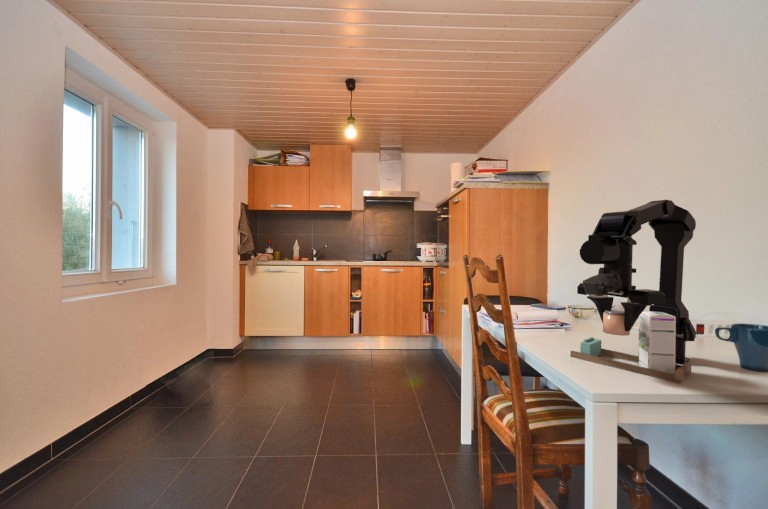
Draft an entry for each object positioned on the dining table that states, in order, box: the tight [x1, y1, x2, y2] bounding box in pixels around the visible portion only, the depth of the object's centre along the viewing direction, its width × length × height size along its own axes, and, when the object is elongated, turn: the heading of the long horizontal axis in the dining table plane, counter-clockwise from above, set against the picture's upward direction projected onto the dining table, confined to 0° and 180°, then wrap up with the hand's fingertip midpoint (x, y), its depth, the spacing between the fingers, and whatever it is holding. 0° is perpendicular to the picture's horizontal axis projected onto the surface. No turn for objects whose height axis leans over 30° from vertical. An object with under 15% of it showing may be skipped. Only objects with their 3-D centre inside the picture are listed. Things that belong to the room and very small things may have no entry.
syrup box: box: [637, 310, 676, 374], centre depth 87 cm, size 6×6×14 cm
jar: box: [602, 309, 631, 337], centre depth 85 cm, size 5×5×5 cm
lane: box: [569, 347, 692, 384], centre depth 92 cm, size 10×24×2 cm, turn 38°
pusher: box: [579, 336, 602, 357], centre depth 99 cm, size 8×2×5 cm, turn 128°
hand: (616, 328), depth 85 cm, fingers closed on jar, 5 cm apart
